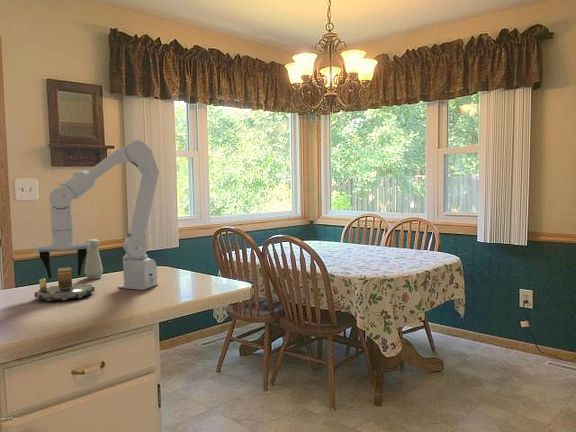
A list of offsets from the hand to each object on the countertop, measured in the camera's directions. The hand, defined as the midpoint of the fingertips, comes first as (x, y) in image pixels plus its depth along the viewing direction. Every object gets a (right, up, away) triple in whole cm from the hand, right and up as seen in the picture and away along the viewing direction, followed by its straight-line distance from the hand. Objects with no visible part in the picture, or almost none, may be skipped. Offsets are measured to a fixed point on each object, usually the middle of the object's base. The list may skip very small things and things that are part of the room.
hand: (64, 276), depth 142 cm
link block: (0, -3, 0) cm, 3 cm away
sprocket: (+2, -5, -4) cm, 7 cm away
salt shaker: (0, -4, +22) cm, 22 cm away
